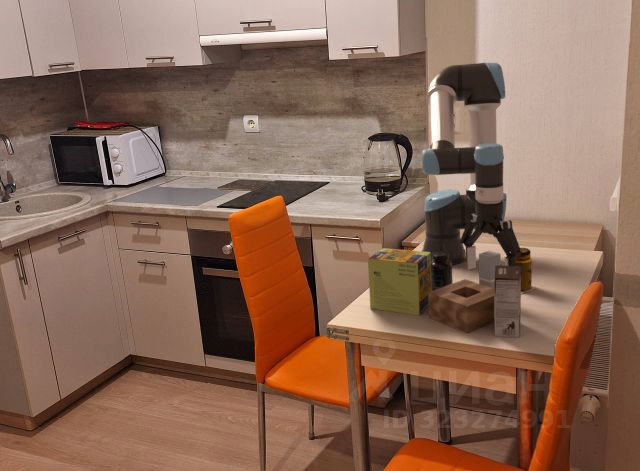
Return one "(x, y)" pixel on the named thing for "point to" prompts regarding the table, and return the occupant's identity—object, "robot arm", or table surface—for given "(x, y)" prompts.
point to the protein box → (400, 280)
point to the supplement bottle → (440, 270)
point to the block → (463, 305)
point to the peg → (488, 267)
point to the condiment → (525, 269)
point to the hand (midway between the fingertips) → (489, 273)
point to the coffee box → (507, 300)
